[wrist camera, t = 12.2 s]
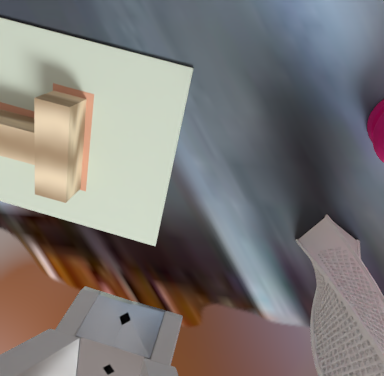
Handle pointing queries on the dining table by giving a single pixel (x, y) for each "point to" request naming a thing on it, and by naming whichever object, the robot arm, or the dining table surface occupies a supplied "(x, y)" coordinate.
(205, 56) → the dining table surface
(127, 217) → the mat
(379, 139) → the pepper mill
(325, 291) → the skyscraper
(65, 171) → the T block
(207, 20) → the dining table surface
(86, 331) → the robot arm
